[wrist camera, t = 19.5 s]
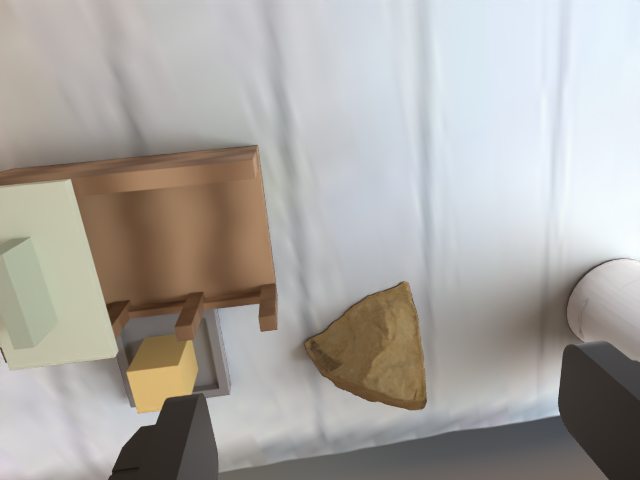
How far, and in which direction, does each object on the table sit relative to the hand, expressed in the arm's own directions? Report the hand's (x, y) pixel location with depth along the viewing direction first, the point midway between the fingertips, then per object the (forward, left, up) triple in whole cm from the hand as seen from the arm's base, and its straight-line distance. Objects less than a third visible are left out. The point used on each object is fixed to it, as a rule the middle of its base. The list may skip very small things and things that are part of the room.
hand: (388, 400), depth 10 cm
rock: (-3, +15, -28) cm, 32 cm away
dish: (+14, +15, -28) cm, 35 cm away
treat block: (+14, +15, -27) cm, 34 cm away
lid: (+18, +4, -20) cm, 28 cm away
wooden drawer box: (+13, +4, -28) cm, 31 cm away
